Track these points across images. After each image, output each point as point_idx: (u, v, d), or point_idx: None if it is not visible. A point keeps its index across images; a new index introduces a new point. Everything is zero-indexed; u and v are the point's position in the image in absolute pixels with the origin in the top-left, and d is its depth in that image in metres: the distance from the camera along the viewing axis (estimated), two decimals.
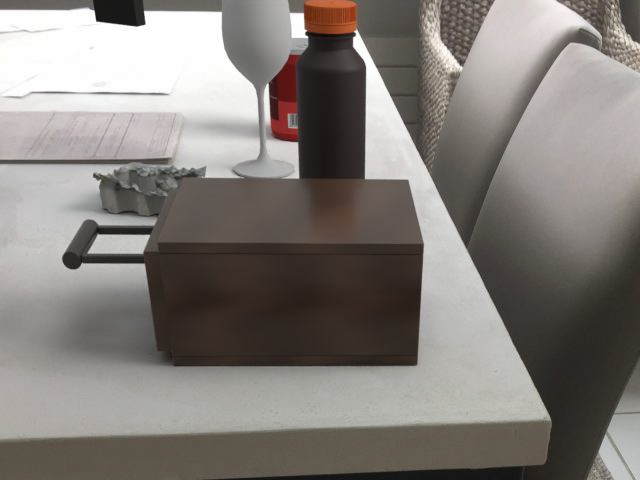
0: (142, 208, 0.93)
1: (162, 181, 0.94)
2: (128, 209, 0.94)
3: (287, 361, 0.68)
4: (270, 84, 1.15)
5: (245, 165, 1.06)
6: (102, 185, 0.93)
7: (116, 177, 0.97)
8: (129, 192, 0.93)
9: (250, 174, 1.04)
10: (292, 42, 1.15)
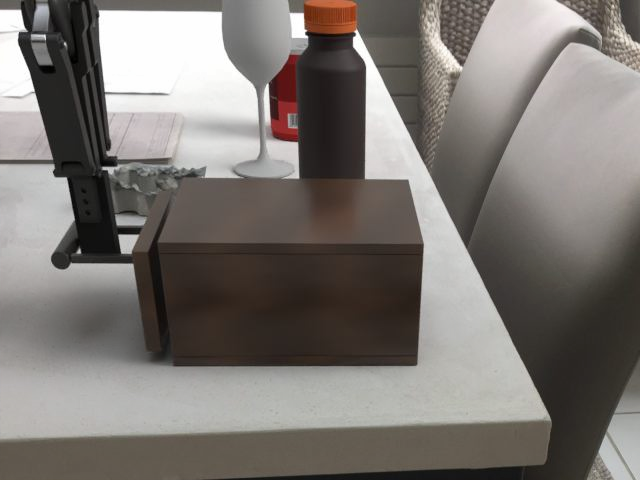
0: (142, 208, 0.93)
1: (162, 181, 0.94)
2: (128, 209, 0.94)
3: (287, 361, 0.68)
4: (270, 84, 1.15)
5: (245, 165, 1.06)
6: None
7: (116, 177, 0.97)
8: (129, 192, 0.93)
9: (250, 174, 1.04)
10: (292, 42, 1.15)
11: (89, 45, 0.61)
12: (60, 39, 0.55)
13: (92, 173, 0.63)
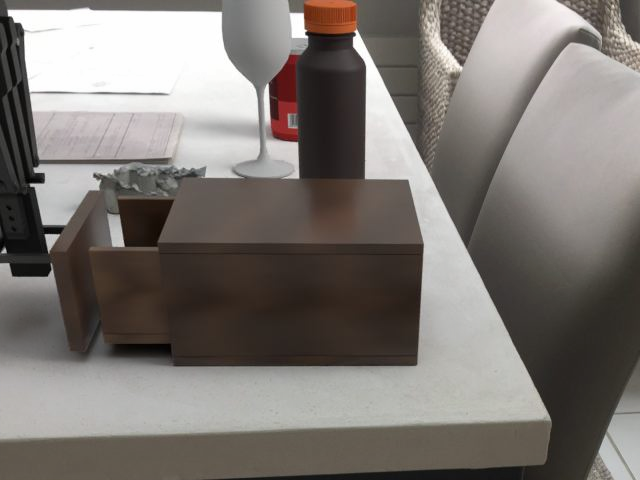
0: None
1: (162, 181, 0.94)
2: None
3: (287, 361, 0.68)
4: (270, 84, 1.15)
5: (245, 165, 1.06)
6: (102, 185, 0.93)
7: (116, 177, 0.97)
8: (129, 192, 0.93)
9: (250, 174, 1.04)
10: (292, 42, 1.15)
11: (10, 65, 0.62)
12: None
13: (15, 191, 0.63)
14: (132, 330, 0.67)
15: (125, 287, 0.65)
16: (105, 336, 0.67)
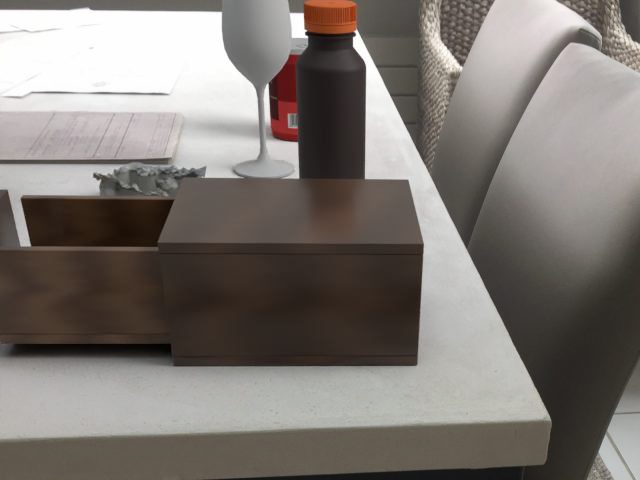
0: None
1: (162, 181, 0.94)
2: None
3: (287, 361, 0.68)
4: (270, 84, 1.15)
5: (245, 165, 1.06)
6: (102, 185, 0.93)
7: (116, 177, 0.97)
8: (129, 192, 0.93)
9: (250, 174, 1.04)
10: (292, 42, 1.15)
11: None
12: None
13: None
14: (28, 330, 0.67)
15: (18, 287, 0.65)
16: (1, 336, 0.67)
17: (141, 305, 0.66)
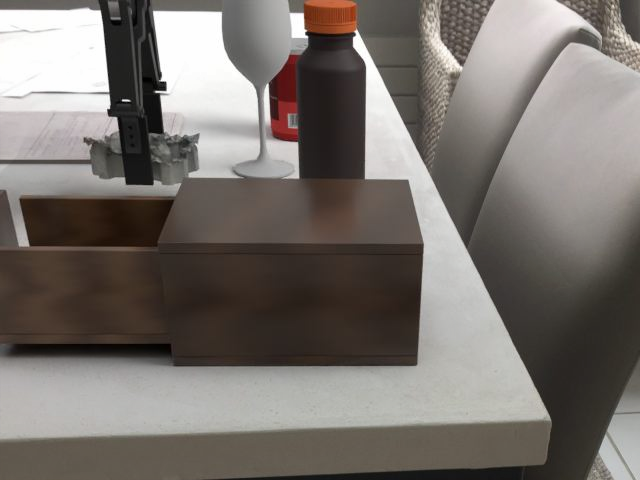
0: None
1: (154, 147, 0.92)
2: (119, 175, 0.92)
3: (287, 361, 0.68)
4: (270, 84, 1.15)
5: (245, 165, 1.06)
6: (93, 150, 0.91)
7: (107, 143, 0.95)
8: (120, 158, 0.91)
9: (250, 174, 1.04)
10: (292, 42, 1.15)
11: (148, 19, 0.87)
12: None
13: (137, 111, 0.83)
14: (26, 330, 0.67)
15: (16, 287, 0.65)
16: None
17: (140, 306, 0.66)
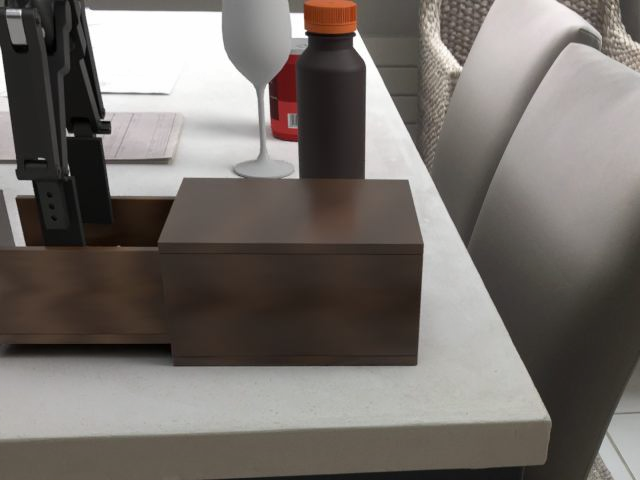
0: None
1: None
2: None
3: (287, 361, 0.68)
4: (270, 84, 1.15)
5: (245, 165, 1.06)
6: None
7: None
8: None
9: (250, 174, 1.04)
10: (292, 42, 1.15)
11: (77, 41, 0.62)
12: (36, 14, 0.54)
13: (56, 174, 0.58)
14: (22, 330, 0.67)
15: (12, 287, 0.65)
16: None
17: (136, 306, 0.66)
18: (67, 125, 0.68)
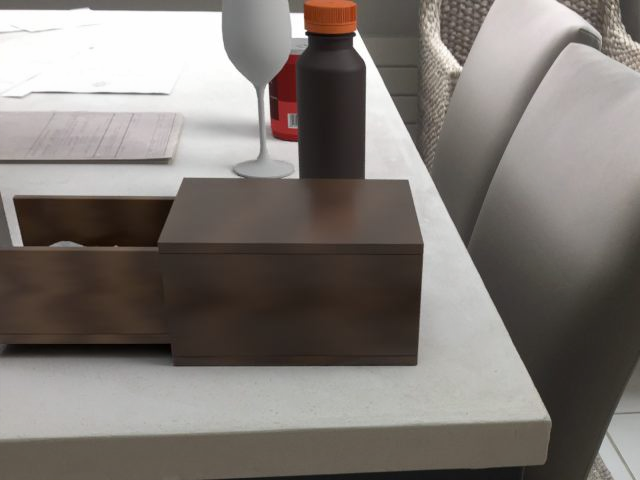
0: None
1: None
2: None
3: (287, 361, 0.68)
4: (270, 84, 1.15)
5: (245, 165, 1.06)
6: None
7: None
8: None
9: (250, 174, 1.04)
10: (292, 42, 1.15)
11: None
12: None
13: None
14: (19, 330, 0.67)
15: (9, 287, 0.65)
16: None
17: (133, 305, 0.66)
18: None
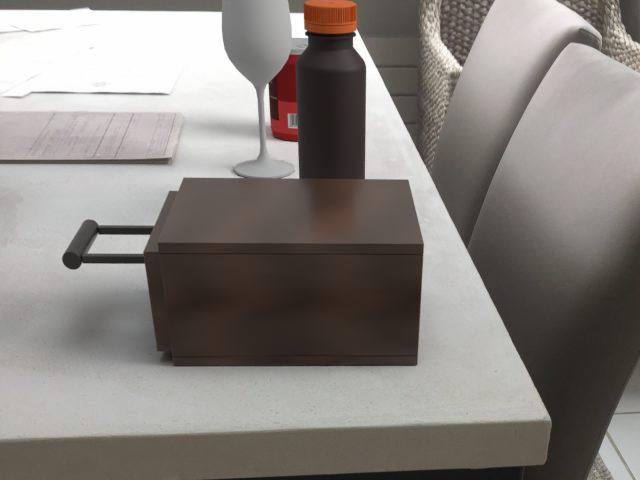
0: None
1: None
2: None
3: (287, 361, 0.68)
4: (270, 84, 1.15)
5: (245, 165, 1.06)
6: None
7: None
8: None
9: (250, 174, 1.04)
10: (292, 42, 1.15)
11: None
12: None
13: None
14: None
15: None
16: None
17: None
18: None
